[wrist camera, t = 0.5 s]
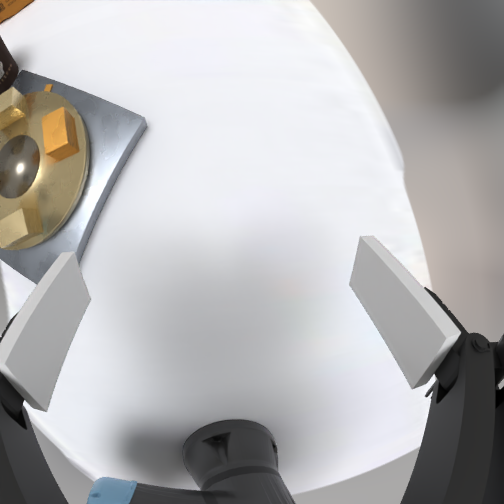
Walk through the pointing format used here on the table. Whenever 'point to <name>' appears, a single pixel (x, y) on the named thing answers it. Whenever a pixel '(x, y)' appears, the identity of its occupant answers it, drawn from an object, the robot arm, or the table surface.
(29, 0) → the coffee package
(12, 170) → the lathe chuck
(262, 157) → the table surface
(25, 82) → the housing
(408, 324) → the robot arm
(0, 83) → the coffee mug
